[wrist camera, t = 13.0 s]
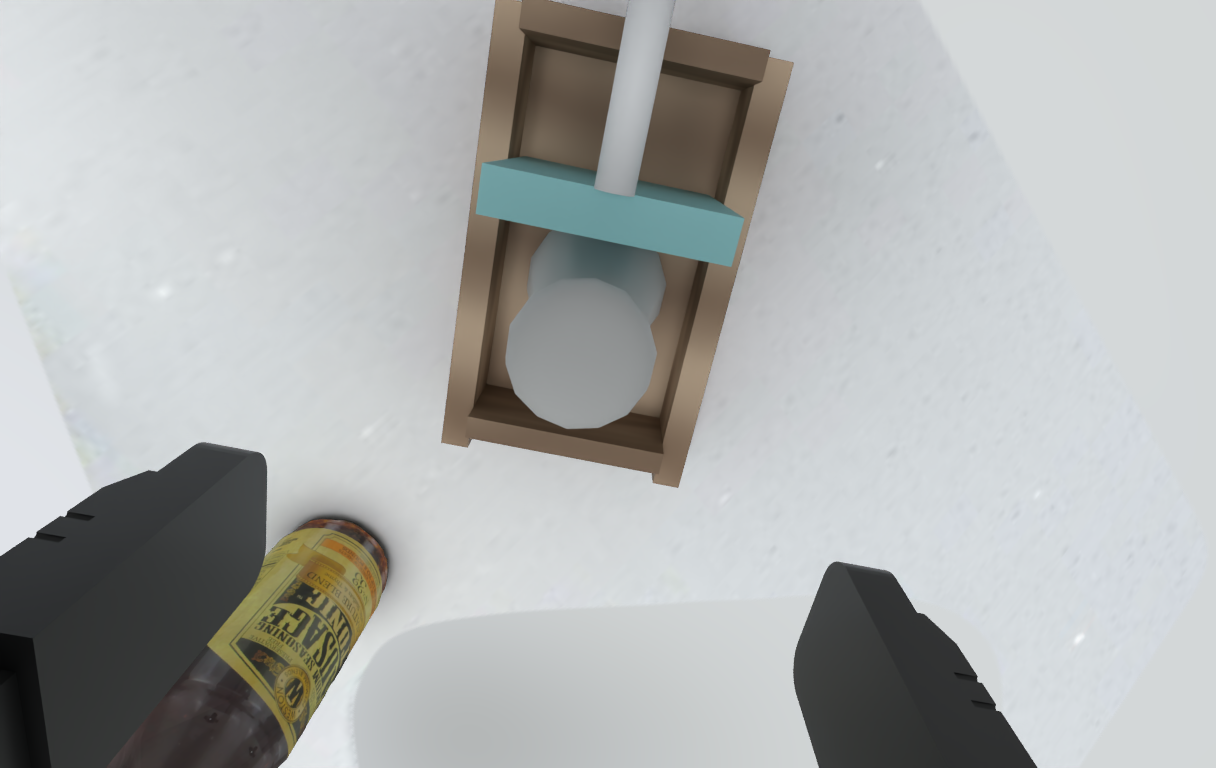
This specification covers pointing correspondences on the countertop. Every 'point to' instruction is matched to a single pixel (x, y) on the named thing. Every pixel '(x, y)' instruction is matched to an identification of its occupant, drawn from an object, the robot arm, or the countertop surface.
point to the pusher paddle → (617, 170)
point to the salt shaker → (585, 330)
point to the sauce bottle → (268, 656)
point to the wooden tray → (572, 135)
